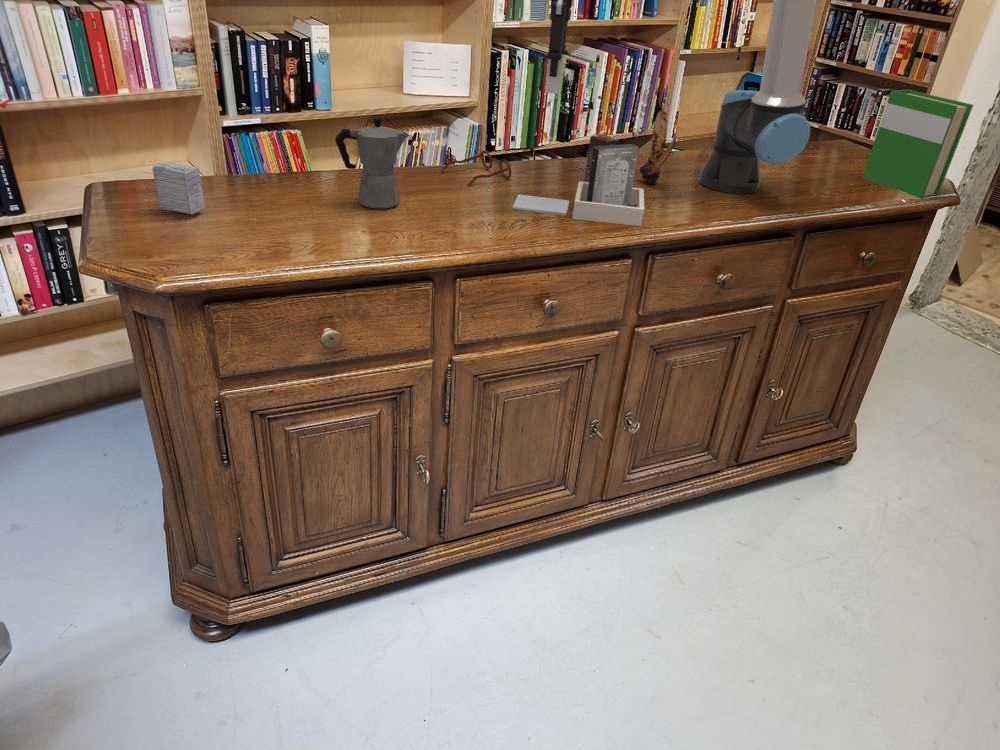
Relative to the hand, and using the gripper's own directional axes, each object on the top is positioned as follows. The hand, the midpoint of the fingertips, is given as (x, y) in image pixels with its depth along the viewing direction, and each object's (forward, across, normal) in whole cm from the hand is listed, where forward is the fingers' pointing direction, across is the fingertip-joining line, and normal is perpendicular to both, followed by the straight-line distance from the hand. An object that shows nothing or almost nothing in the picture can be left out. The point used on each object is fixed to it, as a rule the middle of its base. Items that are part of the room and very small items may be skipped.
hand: (552, 90), depth 155 cm
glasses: (+26, -17, -18) cm, 36 cm away
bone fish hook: (+25, -25, +25) cm, 43 cm away
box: (+25, -19, +12) cm, 34 cm away
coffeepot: (+25, +10, -36) cm, 45 cm away
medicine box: (+25, +28, -71) cm, 80 cm away
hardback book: (+25, -46, +91) cm, 105 cm away
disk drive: (+25, -1, +15) cm, 29 cm away
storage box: (+25, -1, +15) cm, 29 cm away
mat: (+25, 0, 0) cm, 25 cm away
